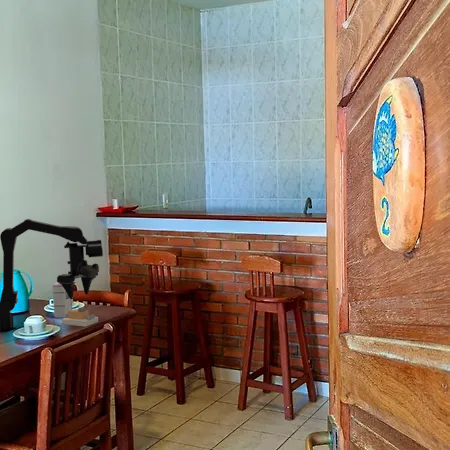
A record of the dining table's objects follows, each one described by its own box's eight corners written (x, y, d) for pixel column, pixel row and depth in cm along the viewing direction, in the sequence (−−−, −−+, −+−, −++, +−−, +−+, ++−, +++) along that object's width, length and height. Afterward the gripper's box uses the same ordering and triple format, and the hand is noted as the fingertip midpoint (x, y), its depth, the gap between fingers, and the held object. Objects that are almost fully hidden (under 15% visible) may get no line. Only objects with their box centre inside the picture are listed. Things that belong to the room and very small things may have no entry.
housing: (68, 318, 252) (68, 308, 252) (75, 316, 256) (74, 306, 256) (82, 319, 249) (81, 309, 249) (88, 317, 253) (88, 307, 252)
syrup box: (66, 317, 262) (64, 283, 261) (53, 317, 263) (51, 283, 262) (72, 314, 268) (70, 281, 266) (60, 314, 269) (58, 281, 268)
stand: (85, 326, 246) (85, 317, 246) (62, 324, 252) (61, 315, 251) (98, 321, 253) (97, 313, 253) (75, 319, 259) (74, 311, 259)
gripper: (77, 262, 238) (79, 302, 240) (107, 255, 255) (109, 293, 256) (54, 261, 243) (57, 301, 245) (85, 254, 260) (88, 291, 261)
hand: (79, 296), depth 252 cm, fingers open, 9 cm apart
